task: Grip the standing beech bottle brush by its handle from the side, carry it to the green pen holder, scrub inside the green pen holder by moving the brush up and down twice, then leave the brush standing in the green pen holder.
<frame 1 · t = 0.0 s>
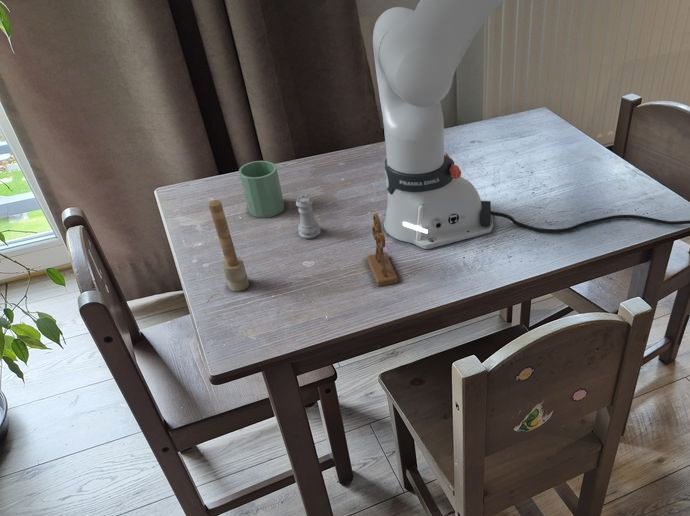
bottle brush: (239, 285, 115), on the table
wooden figure on stand: (382, 271, 119), on the table
rook chess piece: (310, 234, 128), on the table
green pen holder: (266, 208, 135), on the table
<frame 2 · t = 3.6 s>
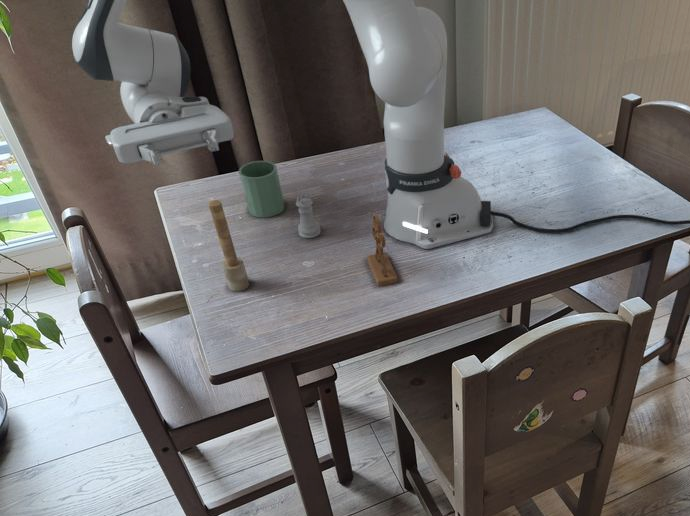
hand: (186, 153, 108), 21 cm above the table, tool horizontal, fingers open, 8 cm apart
nothing on the table moved.
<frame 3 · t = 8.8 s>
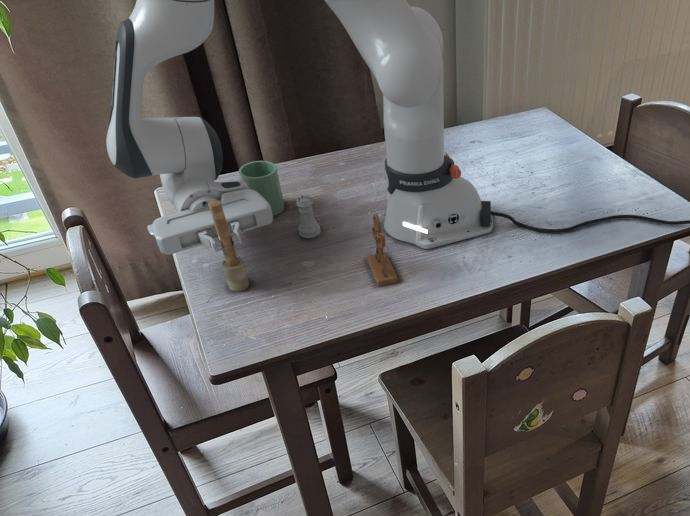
hand: (227, 244, 108), 10 cm above the table, tool horizontal, fingers closed on bottle brush, 2 cm apart
bottle brush: (239, 285, 115), on the table, touching gripper
everything else where it was.
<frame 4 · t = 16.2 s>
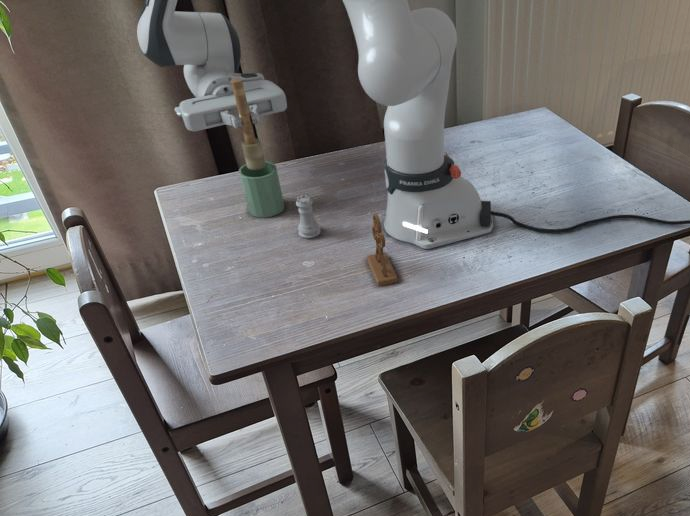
hand: (247, 121, 121), 19 cm above the table, tool horizontal, fingers closed on bottle brush
bottle brush: (256, 165, 128), point 10 cm above the table, touching gripper
everything else where it was.
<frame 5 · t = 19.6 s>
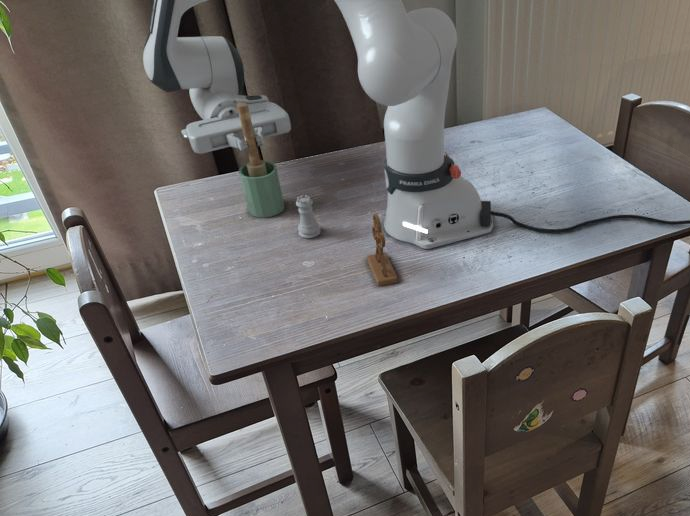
hand: (252, 144, 124), 15 cm above the table, tool horizontal, fingers closed on bottle brush
bottle brush: (260, 185, 131), point 5 cm above the table, touching gripper
everything else where it was.
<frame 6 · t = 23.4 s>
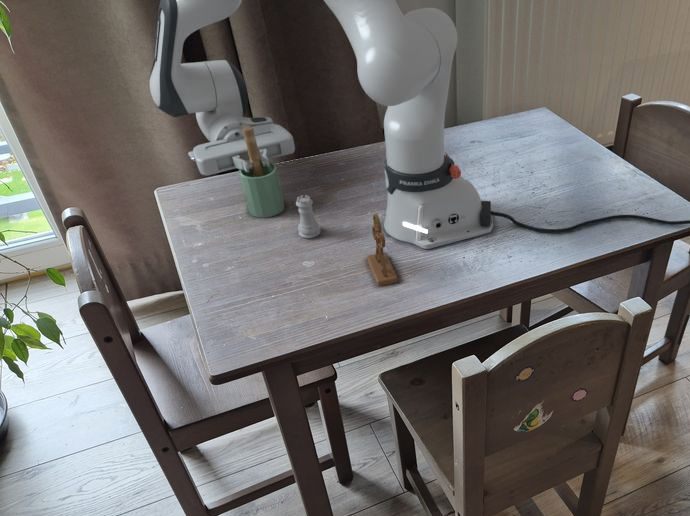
hand: (257, 166, 127), 10 cm above the table, tool horizontal, fingers closed, pressing on bottle brush, green pen holder
bottle brush: (265, 205, 134), point 1 cm above the table, touching green pen holder, gripper
everything else where it was.
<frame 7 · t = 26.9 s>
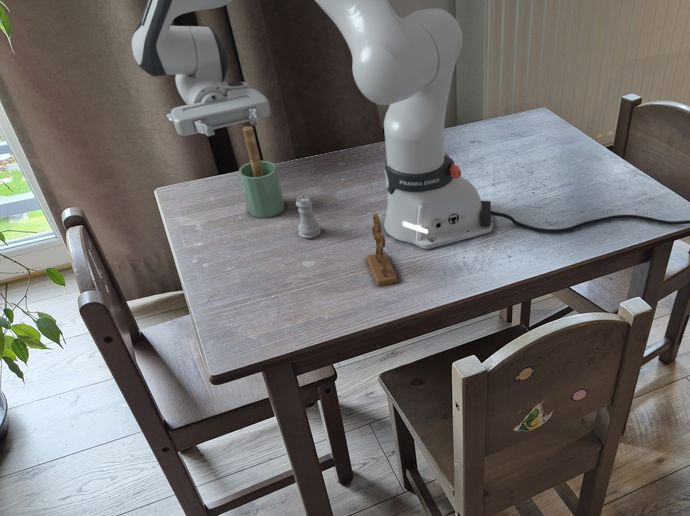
hand: (233, 127, 132), 14 cm above the table, tool horizontal, fingers open, 8 cm apart
bottle brush: (265, 205, 134), point 1 cm above the table, touching green pen holder
everything else where it was.
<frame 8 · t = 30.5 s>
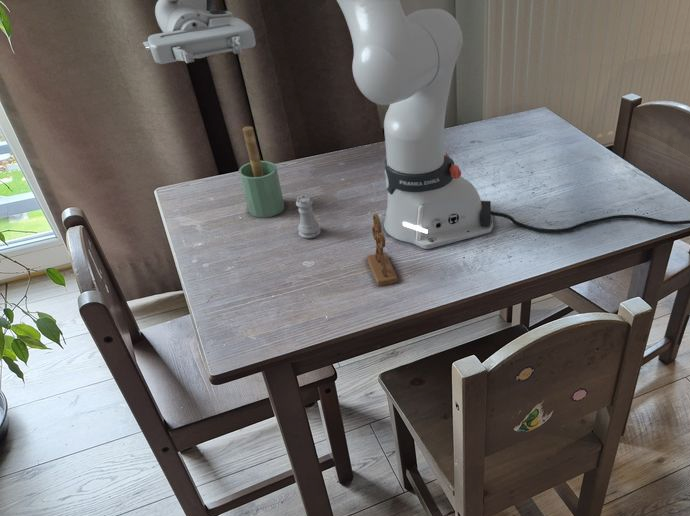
hand: (214, 53, 123), 28 cm above the table, tool horizontal, fingers open, 8 cm apart
nothing on the table moved.
at the end: bottle brush 0.1 cm off-centre in the green pen holder, point 0.6 cm above the green pen holder's base; bottle brush tilted 0°; the gripper is holding nothing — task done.
